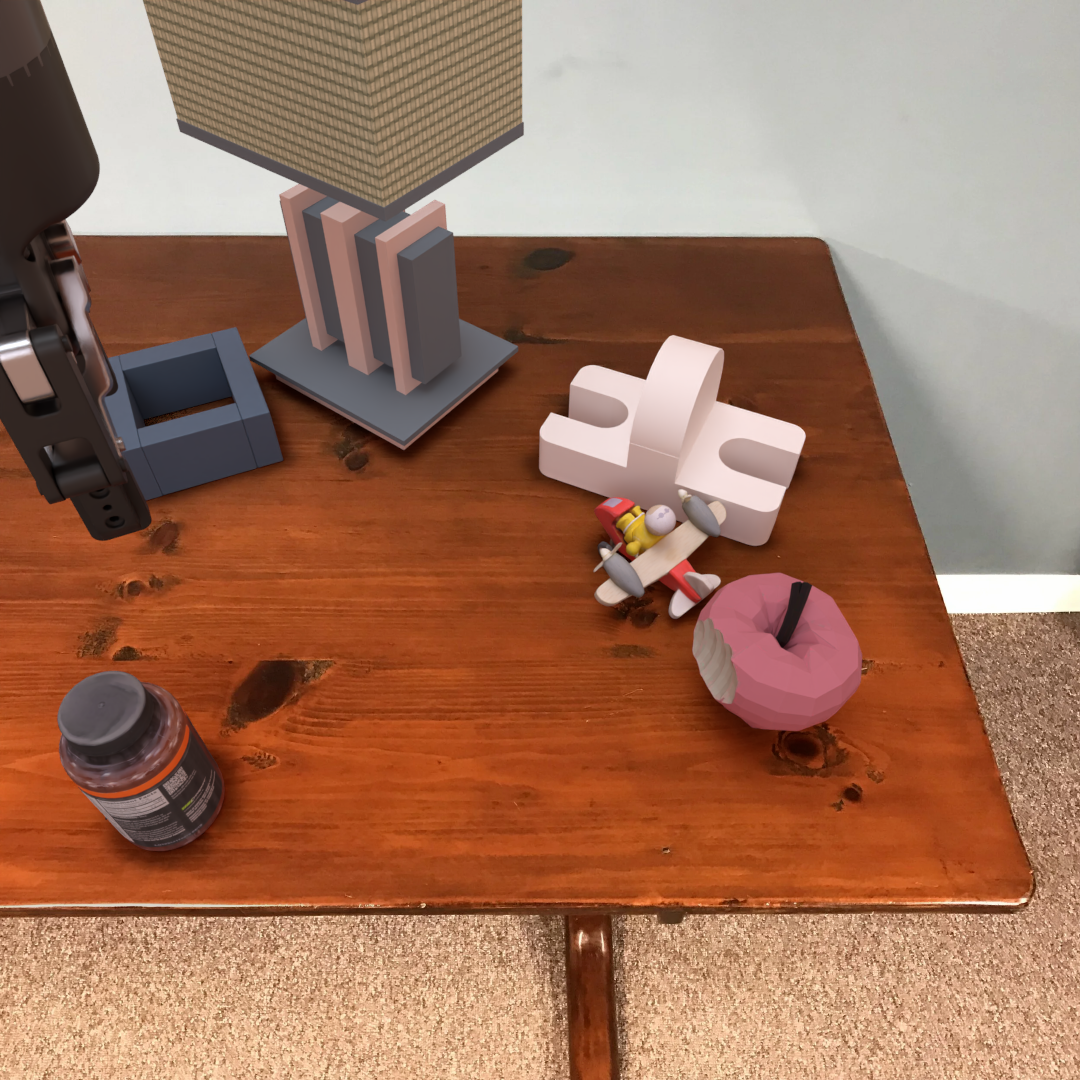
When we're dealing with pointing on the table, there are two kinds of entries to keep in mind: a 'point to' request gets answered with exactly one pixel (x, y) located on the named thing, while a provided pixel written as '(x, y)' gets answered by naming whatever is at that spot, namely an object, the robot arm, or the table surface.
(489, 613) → the table surface
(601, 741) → the table surface
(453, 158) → the desk lamp
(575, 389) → the slotted arch bracket
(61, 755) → the supplement bottle
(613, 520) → the toy airplane
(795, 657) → the apple
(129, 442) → the stand
